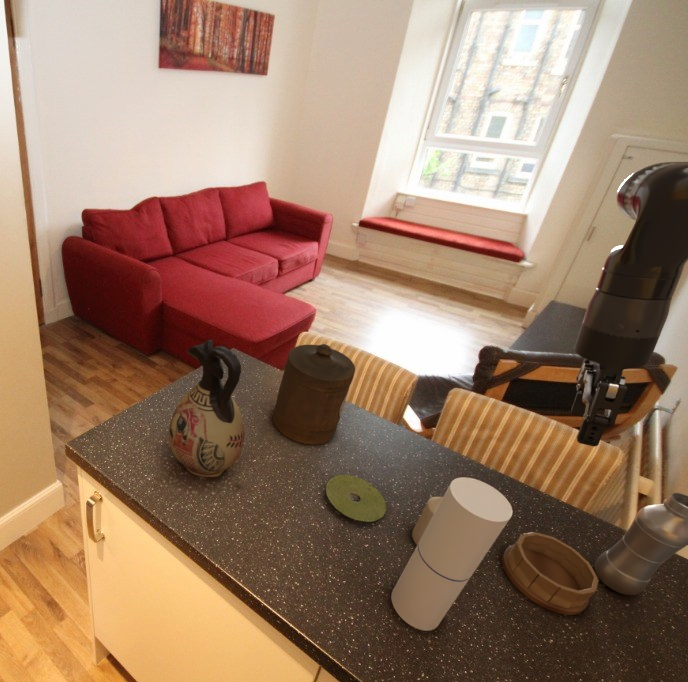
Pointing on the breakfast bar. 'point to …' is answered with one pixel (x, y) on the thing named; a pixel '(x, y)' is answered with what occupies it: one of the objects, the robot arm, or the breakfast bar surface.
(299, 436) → the wooden container
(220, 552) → the breakfast bar surface
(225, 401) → the ceramic jug
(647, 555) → the silver metal bottle
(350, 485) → the mat
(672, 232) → the robot arm
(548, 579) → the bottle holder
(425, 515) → the candle
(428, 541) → the cylindrical container
